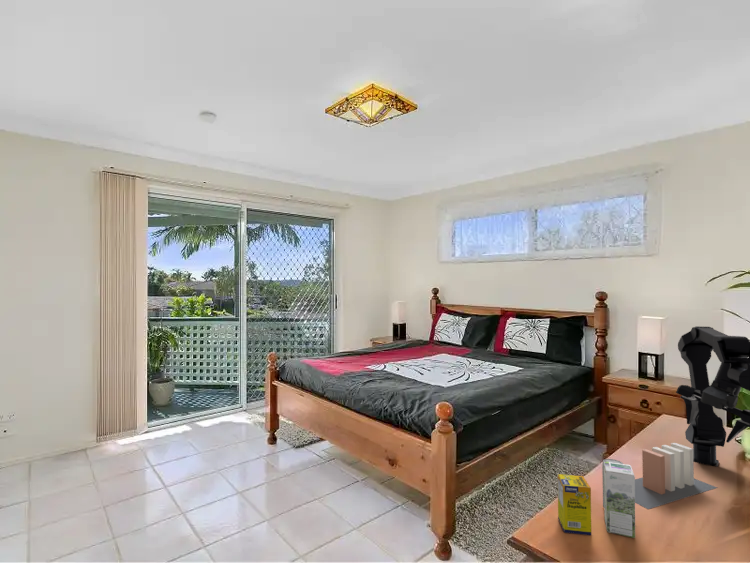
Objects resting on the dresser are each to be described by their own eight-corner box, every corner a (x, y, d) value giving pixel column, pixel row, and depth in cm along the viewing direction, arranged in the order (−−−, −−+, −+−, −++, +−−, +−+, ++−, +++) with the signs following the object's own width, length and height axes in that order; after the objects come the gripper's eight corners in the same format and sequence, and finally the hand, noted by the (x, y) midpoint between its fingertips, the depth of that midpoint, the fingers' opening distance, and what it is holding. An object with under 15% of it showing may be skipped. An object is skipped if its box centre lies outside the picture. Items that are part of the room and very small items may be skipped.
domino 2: (665, 479, 118) (665, 444, 118) (684, 487, 113) (683, 451, 113) (662, 480, 117) (661, 445, 117) (680, 488, 112) (680, 452, 113)
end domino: (646, 484, 115) (646, 449, 115) (665, 493, 110) (664, 455, 110) (642, 486, 114) (642, 449, 114) (661, 494, 109) (660, 456, 110)
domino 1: (656, 482, 116) (655, 446, 116) (675, 490, 112) (674, 453, 112) (652, 483, 116) (652, 447, 116) (671, 491, 111) (670, 454, 111)
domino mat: (672, 471, 124) (671, 469, 124) (717, 489, 113) (717, 487, 113) (605, 489, 114) (605, 487, 114) (648, 511, 102) (648, 509, 102)
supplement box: (592, 536, 93) (591, 487, 93) (563, 533, 94) (563, 485, 94) (584, 521, 99) (583, 475, 99) (557, 518, 100) (557, 473, 100)
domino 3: (675, 477, 119) (674, 442, 119) (693, 484, 114) (693, 448, 115) (671, 478, 119) (670, 443, 119) (690, 485, 114) (689, 449, 114)
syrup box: (632, 525, 97) (631, 463, 97) (636, 539, 91) (634, 474, 91) (604, 519, 99) (603, 459, 99) (606, 533, 94) (605, 469, 94)
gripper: (679, 365, 116) (659, 415, 117) (765, 397, 101) (740, 454, 102) (693, 367, 122) (673, 415, 124) (775, 397, 107) (752, 452, 109)
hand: (707, 432), depth 115 cm, fingers open, 9 cm apart
